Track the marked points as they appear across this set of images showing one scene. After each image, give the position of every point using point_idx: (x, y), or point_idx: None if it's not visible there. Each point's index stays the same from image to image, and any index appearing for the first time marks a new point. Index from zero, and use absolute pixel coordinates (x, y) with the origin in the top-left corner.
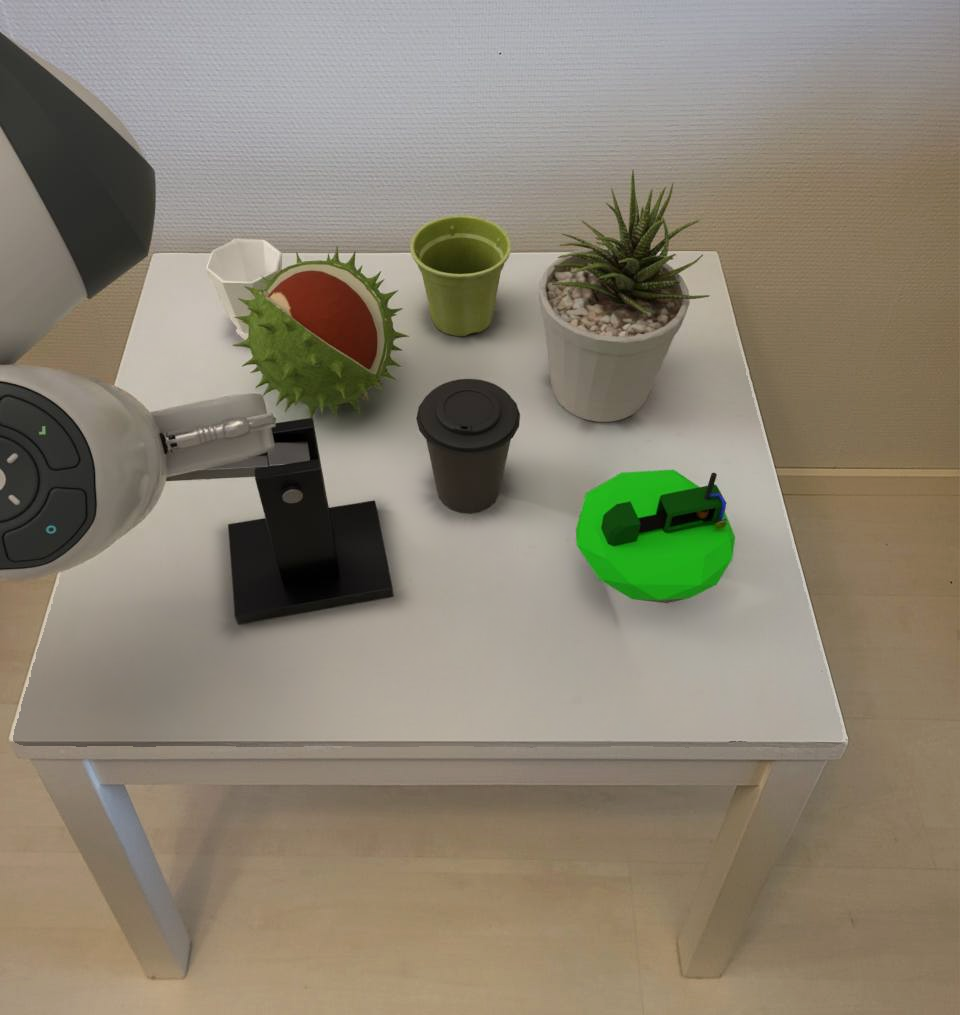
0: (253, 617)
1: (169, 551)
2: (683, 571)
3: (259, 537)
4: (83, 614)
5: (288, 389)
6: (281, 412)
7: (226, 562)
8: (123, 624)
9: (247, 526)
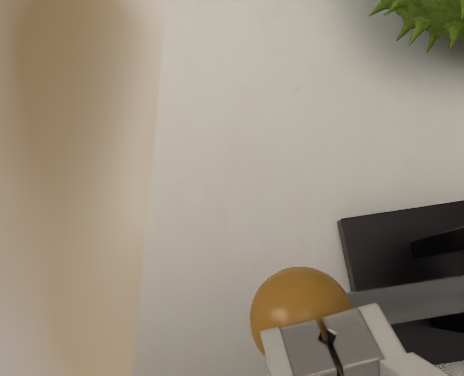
0: None
1: (262, 246)
2: None
3: (386, 243)
4: (169, 338)
5: (438, 21)
6: (374, 31)
7: (338, 268)
8: (221, 358)
9: (367, 224)
